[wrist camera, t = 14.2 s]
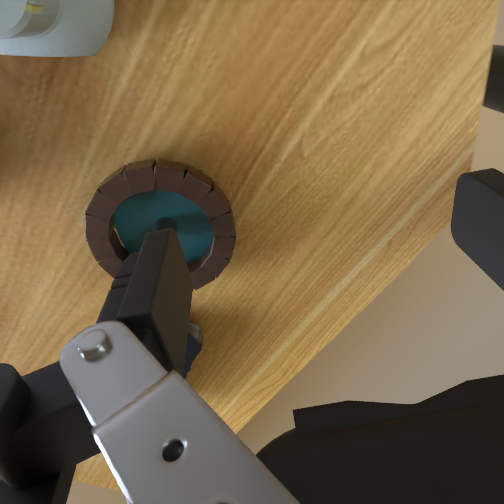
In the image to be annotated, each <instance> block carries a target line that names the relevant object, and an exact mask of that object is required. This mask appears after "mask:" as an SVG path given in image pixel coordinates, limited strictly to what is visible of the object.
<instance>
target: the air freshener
mask: <svg viewBox="0 0 504 504" xmlns="http://www.w3.org/2000/svg"><path fill="white" fill-rule="evenodd" d="M113 16H114V0H0V54H2V55H16V56H39V57H84V56H95V55H97V54H98V52H99V51H100V50H101V49H102V47H103V46H104V44H105V42H106V40H107V38H108V36H109V33H110V30H111V27H112V23H113Z"/></svg>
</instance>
